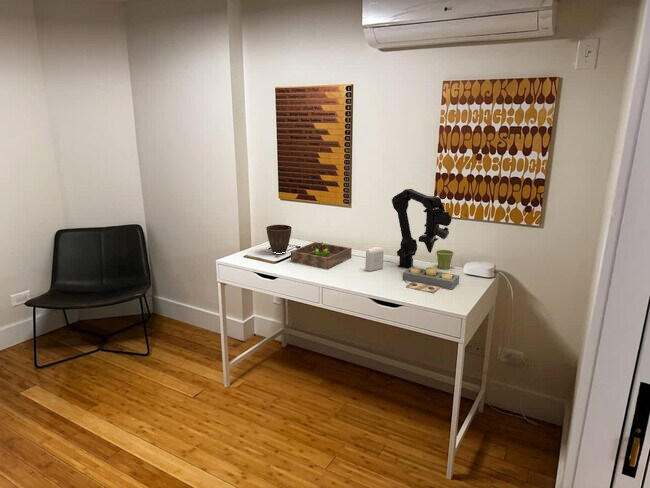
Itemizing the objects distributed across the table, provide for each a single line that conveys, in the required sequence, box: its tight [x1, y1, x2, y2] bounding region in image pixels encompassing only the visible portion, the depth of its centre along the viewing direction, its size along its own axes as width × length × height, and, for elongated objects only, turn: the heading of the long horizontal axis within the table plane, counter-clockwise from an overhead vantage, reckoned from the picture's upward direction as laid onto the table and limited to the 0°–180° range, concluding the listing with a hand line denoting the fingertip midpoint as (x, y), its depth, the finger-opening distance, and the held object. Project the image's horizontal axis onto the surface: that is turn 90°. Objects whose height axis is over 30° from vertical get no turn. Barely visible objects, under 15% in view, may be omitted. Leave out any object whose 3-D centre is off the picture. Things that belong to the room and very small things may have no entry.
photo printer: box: [365, 246, 384, 272], centre depth 242 cm, size 10×4×12 cm, turn 123°
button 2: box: [425, 266, 437, 277], centre depth 224 cm, size 5×5×4 cm
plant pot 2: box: [435, 249, 455, 270], centre depth 247 cm, size 9×9×9 cm
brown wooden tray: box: [290, 241, 352, 270], centre depth 259 cm, size 25×25×6 cm
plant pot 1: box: [265, 224, 292, 256], centre depth 271 cm, size 15×15×16 cm
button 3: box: [441, 272, 452, 280], centre depth 221 cm, size 5×5×4 cm
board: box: [402, 266, 460, 291], centre depth 225 cm, size 25×11×4 cm, turn 57°
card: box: [405, 282, 440, 294], centre depth 217 cm, size 14×8×1 cm, turn 57°
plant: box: [308, 242, 335, 258], centre depth 259 cm, size 20×20×11 cm
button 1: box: [410, 267, 422, 274], centre depth 229 cm, size 5×5×4 cm
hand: (429, 252), depth 231 cm, fingers closed
